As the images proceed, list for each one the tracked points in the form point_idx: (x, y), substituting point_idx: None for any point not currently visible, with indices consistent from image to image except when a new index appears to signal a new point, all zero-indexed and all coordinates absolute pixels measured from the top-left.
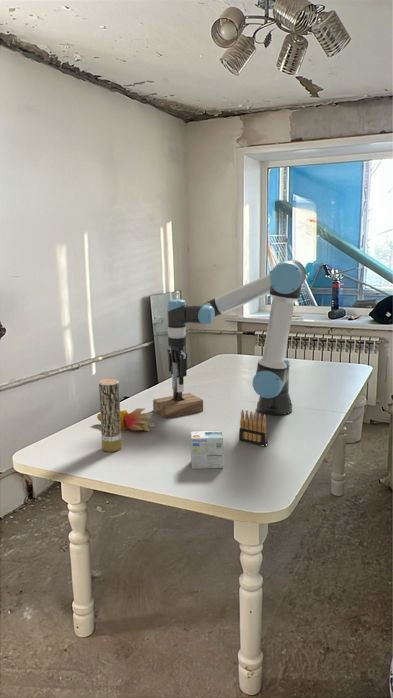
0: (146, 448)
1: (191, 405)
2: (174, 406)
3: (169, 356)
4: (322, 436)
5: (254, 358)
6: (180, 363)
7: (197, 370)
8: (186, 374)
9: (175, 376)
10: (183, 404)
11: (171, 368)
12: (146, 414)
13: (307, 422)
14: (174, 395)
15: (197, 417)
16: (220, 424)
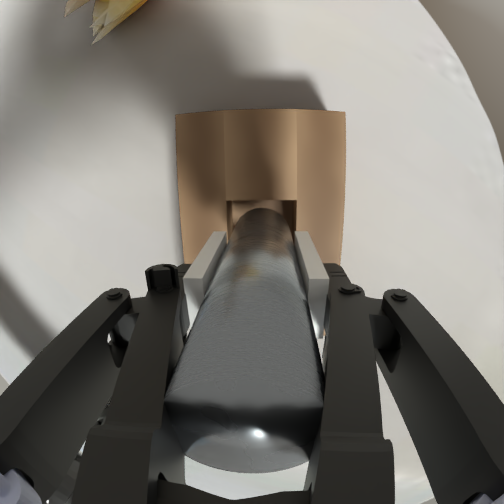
0: (27, 20)
1: None
2: (179, 168)
3: (484, 438)
4: (7, 377)
5: None
6: (35, 389)
7: None
8: (113, 348)
9: (222, 272)
10: (182, 224)
11: (357, 318)
12: (109, 3)
13: None
14: (252, 214)
15: (143, 247)
16: (64, 276)
